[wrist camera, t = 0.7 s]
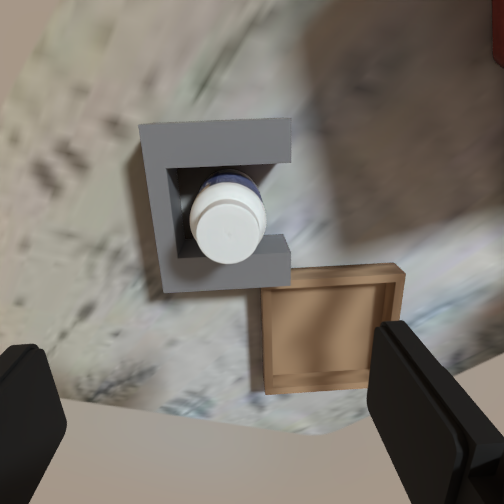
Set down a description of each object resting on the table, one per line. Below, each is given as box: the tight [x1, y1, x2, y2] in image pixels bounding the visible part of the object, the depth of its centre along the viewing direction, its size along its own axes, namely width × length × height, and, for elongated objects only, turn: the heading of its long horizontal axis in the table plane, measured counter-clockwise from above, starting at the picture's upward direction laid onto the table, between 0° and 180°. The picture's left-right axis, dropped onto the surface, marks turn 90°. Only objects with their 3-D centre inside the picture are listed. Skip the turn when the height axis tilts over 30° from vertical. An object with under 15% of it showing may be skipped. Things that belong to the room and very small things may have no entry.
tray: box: [261, 263, 406, 395], centre depth 34 cm, size 13×13×2 cm
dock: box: [138, 118, 291, 293], centre depth 28 cm, size 10×13×4 cm
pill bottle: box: [190, 169, 267, 264], centre depth 26 cm, size 5×5×10 cm
